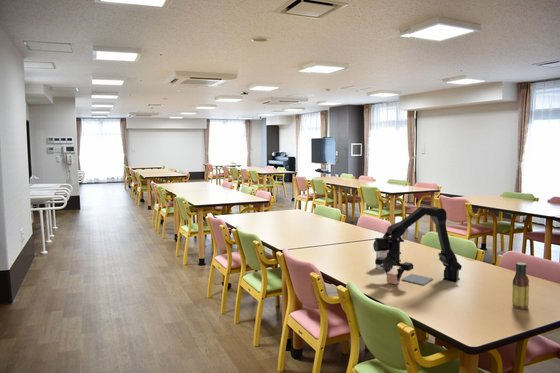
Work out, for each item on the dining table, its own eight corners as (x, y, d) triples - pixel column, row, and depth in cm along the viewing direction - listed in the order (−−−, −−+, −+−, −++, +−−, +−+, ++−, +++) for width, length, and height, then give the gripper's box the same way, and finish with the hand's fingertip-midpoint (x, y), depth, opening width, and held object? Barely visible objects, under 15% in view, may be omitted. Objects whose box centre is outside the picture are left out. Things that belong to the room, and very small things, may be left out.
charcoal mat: (433, 279, 217) (433, 278, 217) (423, 285, 209) (423, 284, 209) (411, 274, 225) (411, 273, 225) (401, 280, 217) (401, 279, 217)
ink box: (388, 266, 241) (389, 246, 240) (393, 268, 236) (393, 248, 235) (375, 267, 239) (375, 247, 238) (379, 270, 234) (380, 250, 233)
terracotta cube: (400, 281, 212) (400, 272, 212) (395, 284, 209) (395, 274, 208) (391, 279, 216) (391, 270, 215) (386, 282, 212) (386, 272, 211)
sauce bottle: (522, 304, 184) (525, 261, 181) (531, 310, 177) (534, 265, 175) (508, 304, 183) (510, 261, 181) (516, 310, 177) (519, 265, 175)
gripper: (369, 250, 211) (369, 279, 212) (404, 256, 198) (403, 288, 200) (380, 246, 219) (380, 274, 221) (414, 252, 206) (413, 282, 208)
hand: (393, 279), depth 212 cm, fingers closed on terracotta cube, 5 cm apart
